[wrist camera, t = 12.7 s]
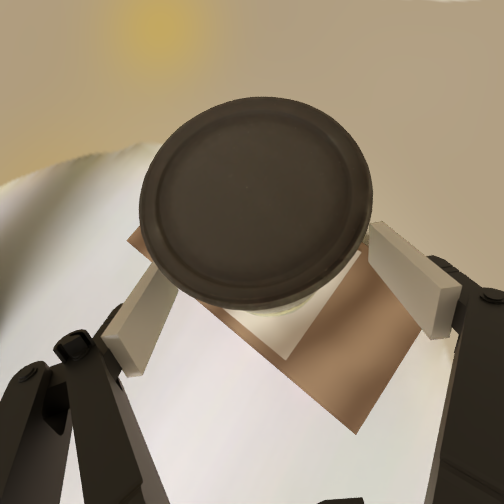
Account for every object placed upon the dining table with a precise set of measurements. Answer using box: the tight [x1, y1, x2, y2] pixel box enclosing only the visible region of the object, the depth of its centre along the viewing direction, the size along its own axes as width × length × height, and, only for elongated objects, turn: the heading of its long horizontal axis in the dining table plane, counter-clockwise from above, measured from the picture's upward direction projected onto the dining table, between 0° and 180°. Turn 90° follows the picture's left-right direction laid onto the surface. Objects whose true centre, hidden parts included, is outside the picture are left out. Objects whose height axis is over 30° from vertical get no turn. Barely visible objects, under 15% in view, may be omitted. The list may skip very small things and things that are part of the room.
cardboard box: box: [127, 226, 422, 435], centre depth 28 cm, size 28×14×8 cm, turn 52°
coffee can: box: [139, 97, 373, 317], centre depth 18 cm, size 10×10×14 cm
